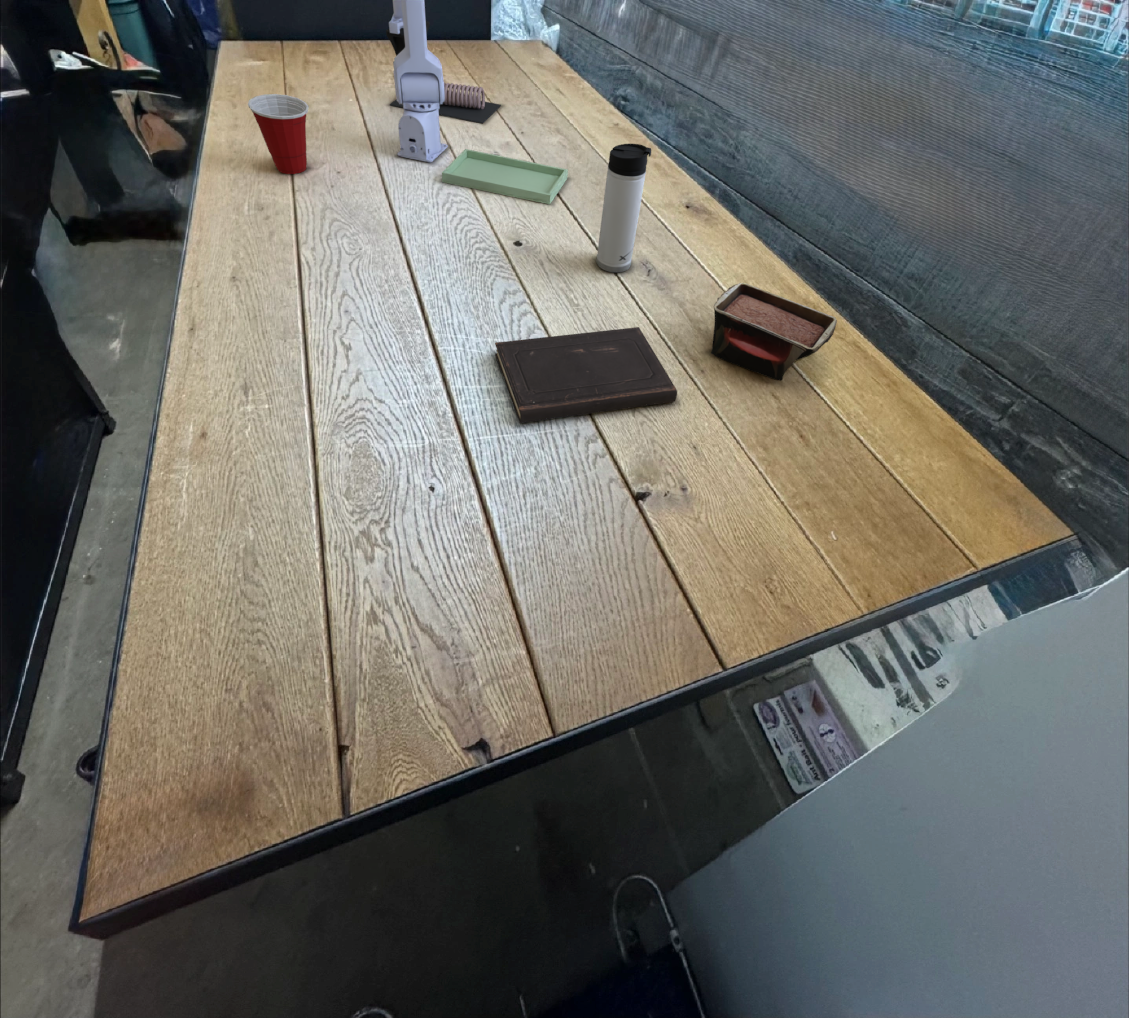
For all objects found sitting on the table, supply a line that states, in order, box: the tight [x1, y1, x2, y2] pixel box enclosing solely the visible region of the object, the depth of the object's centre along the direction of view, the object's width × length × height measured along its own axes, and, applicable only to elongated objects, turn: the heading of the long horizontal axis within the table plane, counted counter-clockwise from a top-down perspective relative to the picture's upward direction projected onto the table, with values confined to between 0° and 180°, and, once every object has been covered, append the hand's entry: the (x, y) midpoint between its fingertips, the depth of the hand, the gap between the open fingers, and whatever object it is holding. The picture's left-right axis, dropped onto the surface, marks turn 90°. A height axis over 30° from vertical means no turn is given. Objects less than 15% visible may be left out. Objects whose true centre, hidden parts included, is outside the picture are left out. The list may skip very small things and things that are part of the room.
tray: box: [441, 148, 569, 205], centre depth 136 cm, size 13×23×2 cm, turn 74°
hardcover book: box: [494, 326, 678, 424], centre depth 95 cm, size 16×23×2 cm
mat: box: [389, 99, 502, 125], centre depth 161 cm, size 13×24×1 cm, turn 74°
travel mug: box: [595, 143, 652, 273], centre depth 111 cm, size 6×7×20 cm
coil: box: [443, 81, 486, 109], centre depth 159 cm, size 5×5×18 cm
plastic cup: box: [247, 93, 309, 175], centre depth 128 cm, size 11×11×12 cm
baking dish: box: [710, 282, 838, 381], centre depth 101 cm, size 14×18×10 cm
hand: (411, 62), depth 152 cm, fingers open, 7 cm apart
